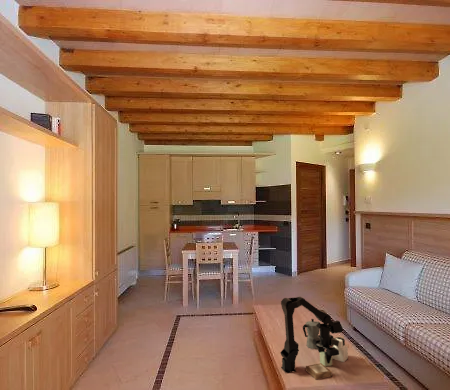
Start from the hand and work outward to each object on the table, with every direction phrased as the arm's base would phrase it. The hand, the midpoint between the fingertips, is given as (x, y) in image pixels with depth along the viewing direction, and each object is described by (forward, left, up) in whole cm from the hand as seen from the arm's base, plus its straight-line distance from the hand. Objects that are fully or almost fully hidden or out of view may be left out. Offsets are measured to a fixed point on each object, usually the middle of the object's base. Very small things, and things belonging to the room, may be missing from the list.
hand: (325, 361), depth 186 cm
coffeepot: (+5, +23, -2) cm, 24 cm away
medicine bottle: (+12, +3, -2) cm, 12 cm away
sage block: (0, 0, -2) cm, 2 cm away
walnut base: (-10, -8, -2) cm, 13 cm away
